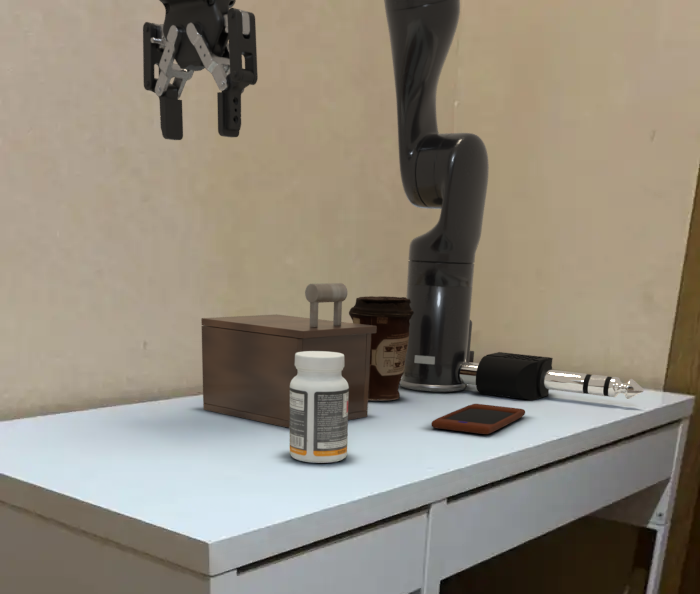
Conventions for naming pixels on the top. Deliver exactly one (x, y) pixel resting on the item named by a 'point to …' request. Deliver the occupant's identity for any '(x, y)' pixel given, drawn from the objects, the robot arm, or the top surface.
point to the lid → (299, 318)
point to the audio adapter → (537, 378)
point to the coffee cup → (385, 341)
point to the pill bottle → (319, 408)
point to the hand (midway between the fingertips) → (199, 138)
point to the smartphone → (478, 418)
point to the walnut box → (273, 372)
